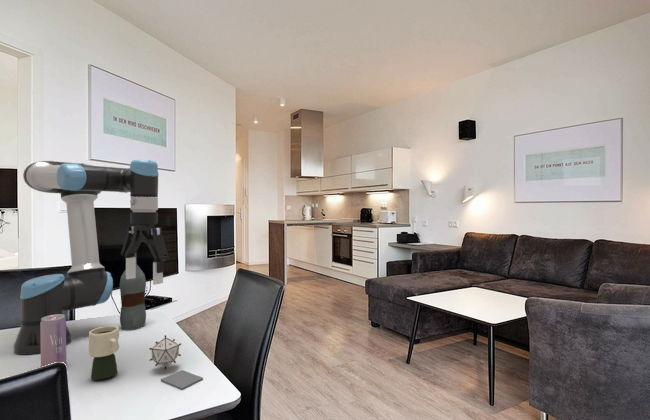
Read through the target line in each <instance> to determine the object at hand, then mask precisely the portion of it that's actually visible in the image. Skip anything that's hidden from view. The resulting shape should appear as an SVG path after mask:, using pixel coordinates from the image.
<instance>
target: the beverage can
mask: <svg viewBox="0 0 650 420" xmlns="http://www.w3.org/2000/svg"><path fill="white" fill-rule="evenodd" d="M66 325H67V318H66V315H65V313H64V314H56V315H50V316H46V317H43V318H42V319H41V323H40V337H41V353H40V368H41V367H42V366H45V365H48V364H51V363H54V362H64V363H65V364H66V365H67V345H66Z"/></svg>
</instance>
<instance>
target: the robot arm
mask: <svg viewBox="0 0 650 420" xmlns="http://www.w3.org/2000/svg"><path fill="white" fill-rule="evenodd" d="M158 166H159V165H158V163H157V162H156V161H154V160H150V159H133V160H131V162H130V167H128V168H126V167H125V168H124V167H116V166H115V167H114V166H113V167H112V166H98V165H92V164H87V163H77V162H67V161H66V162H65V161H54V160H43V161H36V162H33V163H30V164H29V165H28V166H26V167H25V169H24V171H23V173H22V175H23V176H22V177H23V181H24V183H25V184H26V185H27V186H28V187H29V188H31V189H32V190H35V191H38V192H42V193H49V194H60V199H61V201H63V202H64V203H65V205H66V213H67V224H68V237H69V247H70V259H71V260H70V261H71V267H70V269H69V270H68V271H67V277H65V275H64V274H62V273H53V274H47V275H42V276H37V277H33V278H31V279H28V280H26V281H24V282H23V283H22V285H21V289H20V296H19V298H20V328H19V331H18V334H17V337H16V339H15V341H14V344H13V349H14V350H13V351H14V353H15V354H17V355H35V354H36V355H37V354H41V337H40V323H41V319H42V318H43V317H46V316H50V315H56V314H64V315H65V312H67V311H72V310H77V309H81V308H87V307H94V306H97V305H100V304H101V305H102V304H104V303H106V302H107V301H108V300H109V299H110V297H111V295H112V292H113V287H114V280H113V277H112V274H111V272H109V271H106V270H105V269H106V268H105V266H103V264H101V262H100V257H99V256H100V254H99V245H98V233H97V226H96V225H97V224H96V215H95V214H96V213H95V203H94V202H95V201H96V200H97V199H98V195H99V194H101V193H102V192H113V193H117V192H119V193H125V194H127V193H130V195H129V197H130V200H129V203H130V207H129V209H130V210H131V212H130V213H129V215H130V216H129V217H130V219H129V221H130V222H129V223H130V225H131V226H130V225H129V226H127V227H126V235H125V237H124V238H125V239H124V241H123V244H122V248H121V251H120V255H121V256H124V258H125V270H126V279H132V278H136V261H137V256H136V257H135V253H136V254H137V251H138V250H139V247H140V246H141V244H142V243H144V244H145V245H147V247H148V249H149V251H150V254H151V256H152V257H153V262H152V285H154V286H155V285H159V284H163V283H164V264H165V261H167V260H169V259H170V256H169V253H168V250H167V247H166V243H165V239H164V235H163V230H162V227H155V225H157V224H158V223H159V221H158V220H159V218H158V216H159V213H158V212H157V211H158V210H159V197H158V195H159V168H158ZM71 340H72V339H71V332H70V330H69V328H68V325H67V324H66V346H67V345H69V344H70V343H71V342H72V341H71Z"/></svg>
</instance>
